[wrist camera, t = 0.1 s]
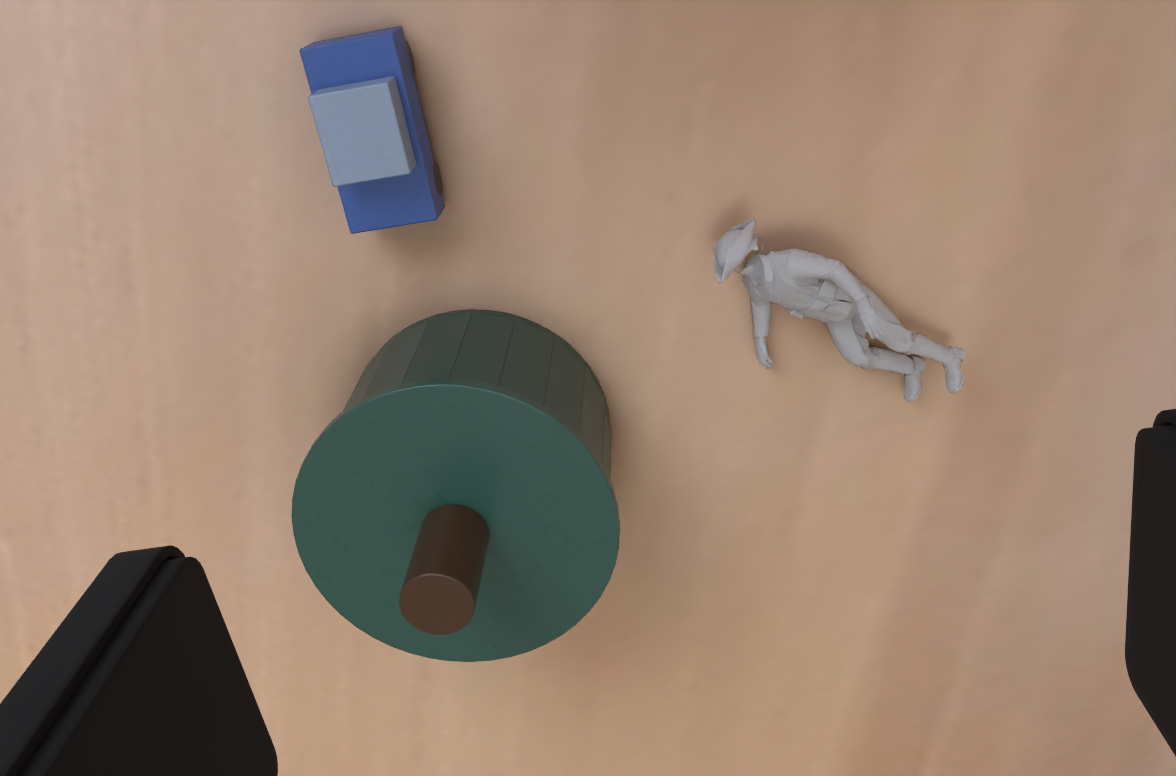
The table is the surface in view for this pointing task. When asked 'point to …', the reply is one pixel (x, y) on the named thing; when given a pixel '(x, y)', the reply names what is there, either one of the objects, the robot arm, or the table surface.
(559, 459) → the lid
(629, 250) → the table surface
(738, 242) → the soldier figure
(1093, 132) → the table surface
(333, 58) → the toy car
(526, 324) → the tin
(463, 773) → the table surface
